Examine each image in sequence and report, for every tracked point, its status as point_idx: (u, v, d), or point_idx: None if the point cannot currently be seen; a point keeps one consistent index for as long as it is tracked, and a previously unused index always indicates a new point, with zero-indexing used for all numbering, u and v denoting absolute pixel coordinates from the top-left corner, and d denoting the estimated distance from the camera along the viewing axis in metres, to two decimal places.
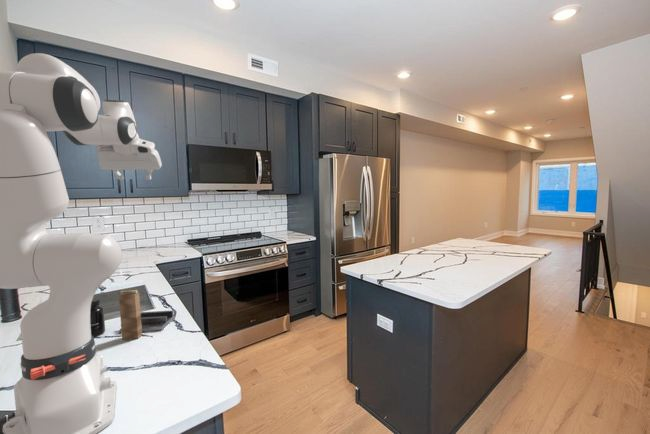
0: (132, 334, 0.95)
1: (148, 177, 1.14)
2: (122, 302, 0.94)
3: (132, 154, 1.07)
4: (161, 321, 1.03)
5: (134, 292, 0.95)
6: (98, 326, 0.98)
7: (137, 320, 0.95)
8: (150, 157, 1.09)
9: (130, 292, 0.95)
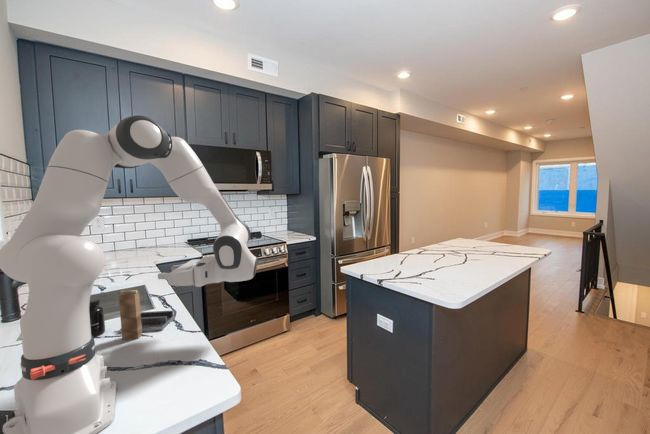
0: (132, 334, 0.95)
1: (162, 273, 0.91)
2: (122, 302, 0.94)
3: (198, 264, 0.95)
4: (161, 321, 1.03)
5: (134, 292, 0.95)
6: (98, 326, 0.98)
7: (137, 320, 0.95)
8: None
9: (130, 292, 0.95)
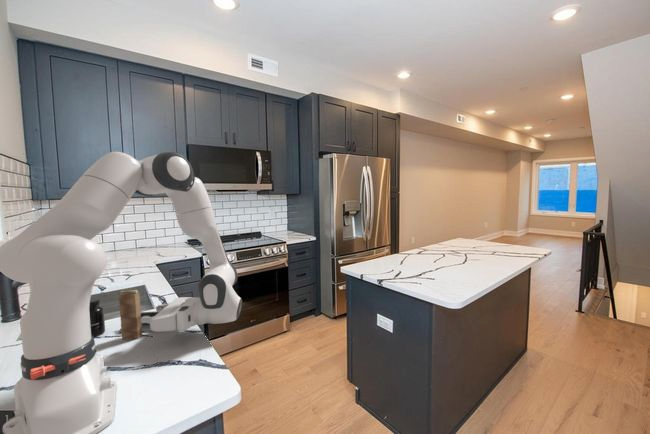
0: (132, 334, 0.95)
1: (145, 316, 0.91)
2: (122, 302, 0.94)
3: (181, 306, 0.95)
4: None
5: (134, 292, 0.95)
6: (98, 326, 0.98)
7: (137, 320, 0.95)
8: (170, 315, 0.89)
9: (130, 292, 0.95)
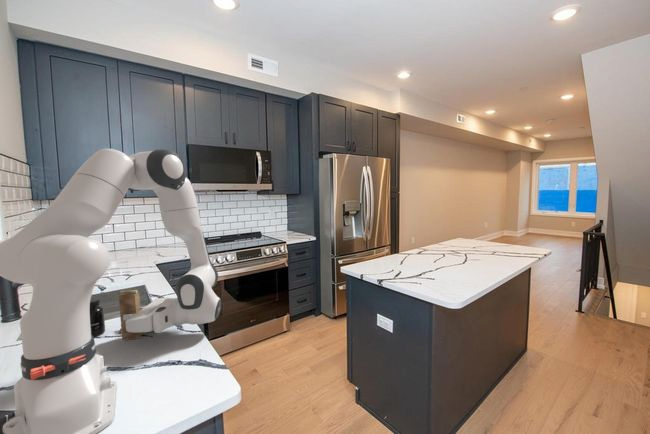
0: (132, 334, 0.95)
1: (127, 314, 0.93)
2: (122, 302, 0.94)
3: (159, 307, 0.94)
4: None
5: (134, 292, 0.95)
6: (98, 326, 0.98)
7: None
8: (146, 316, 0.89)
9: (130, 292, 0.95)
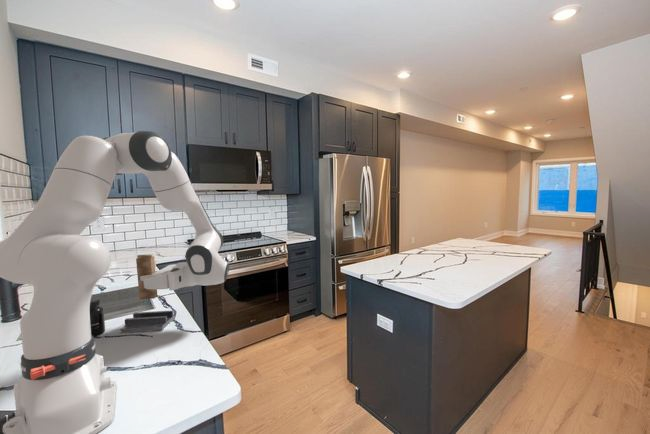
0: (148, 294, 1.04)
1: (144, 275, 1.02)
2: (139, 265, 1.03)
3: None
4: (161, 321, 1.03)
5: (150, 256, 1.04)
6: (98, 326, 0.98)
7: None
8: None
9: (146, 256, 1.04)
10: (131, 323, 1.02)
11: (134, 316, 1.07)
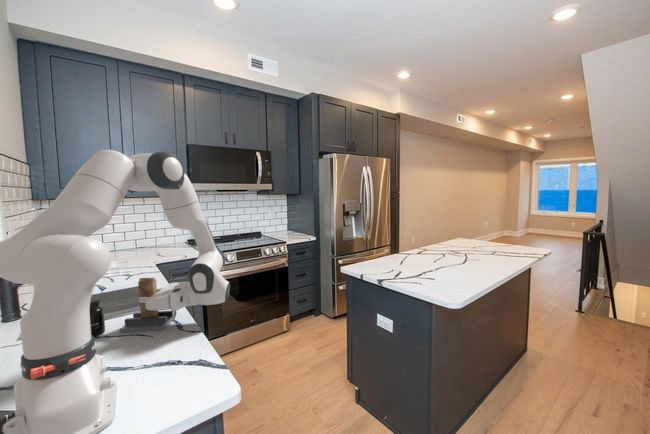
0: None
1: (142, 297, 1.01)
2: (141, 288, 1.04)
3: (174, 289, 1.04)
4: (161, 321, 1.03)
5: (152, 279, 1.05)
6: (98, 326, 0.98)
7: None
8: None
9: (148, 279, 1.04)
10: (131, 323, 1.02)
11: (134, 316, 1.07)
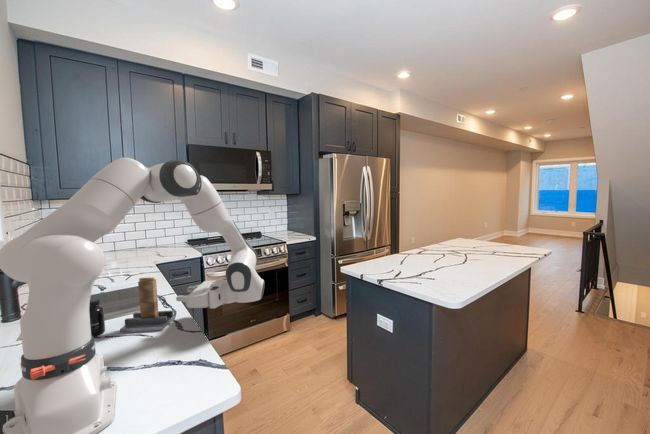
0: None
1: (180, 295, 1.01)
2: (141, 288, 1.04)
3: (211, 287, 1.05)
4: (161, 321, 1.03)
5: (152, 279, 1.05)
6: (98, 326, 0.98)
7: (154, 304, 1.05)
8: (203, 294, 0.99)
9: (148, 279, 1.04)
10: (131, 323, 1.02)
11: (134, 316, 1.07)
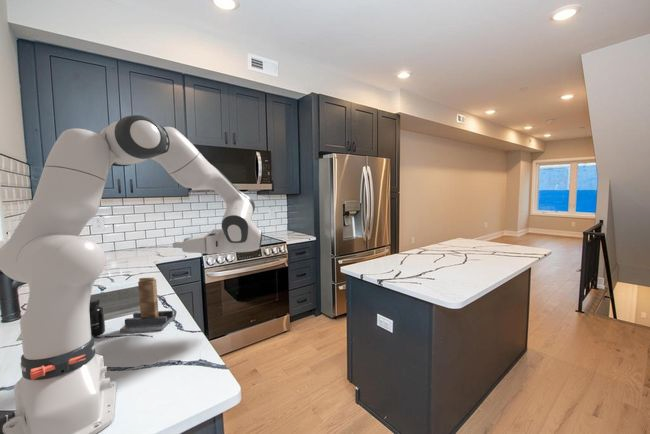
0: None
1: (176, 242, 1.00)
2: (141, 288, 1.04)
3: None
4: (161, 321, 1.03)
5: (152, 279, 1.05)
6: (98, 326, 0.98)
7: (154, 304, 1.05)
8: None
9: (148, 279, 1.04)
10: (131, 323, 1.02)
11: (134, 316, 1.07)
